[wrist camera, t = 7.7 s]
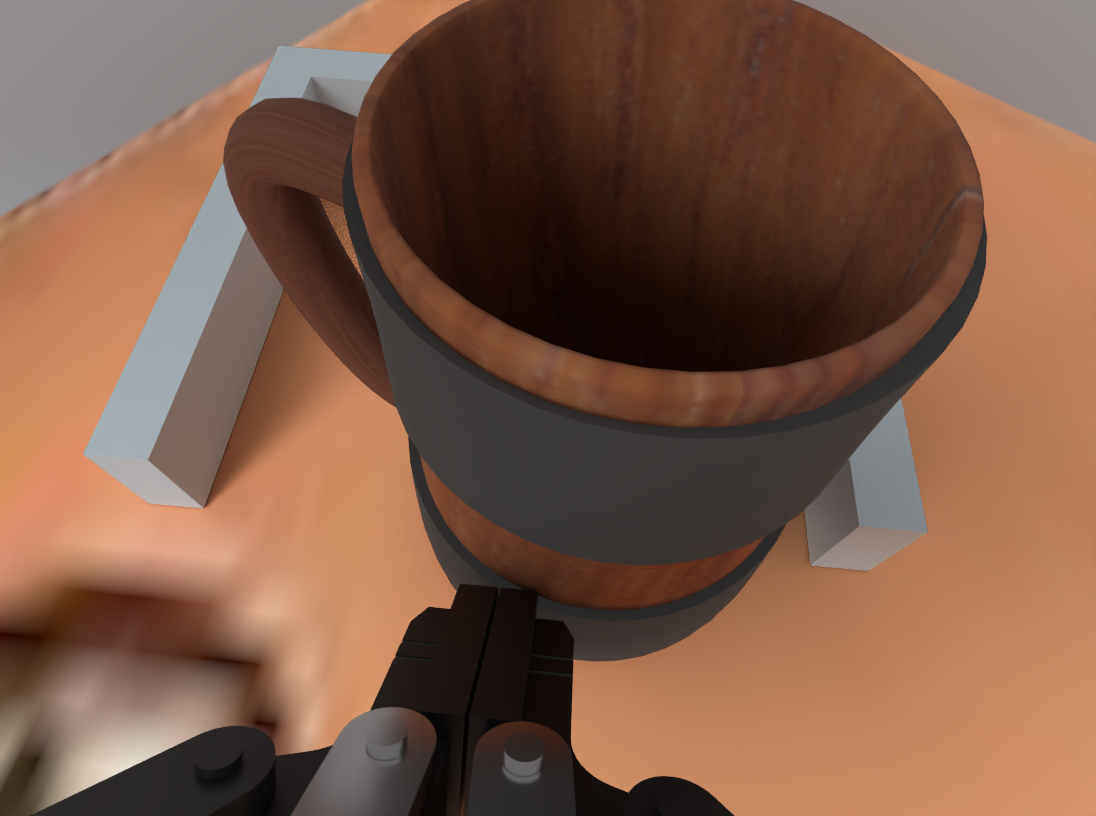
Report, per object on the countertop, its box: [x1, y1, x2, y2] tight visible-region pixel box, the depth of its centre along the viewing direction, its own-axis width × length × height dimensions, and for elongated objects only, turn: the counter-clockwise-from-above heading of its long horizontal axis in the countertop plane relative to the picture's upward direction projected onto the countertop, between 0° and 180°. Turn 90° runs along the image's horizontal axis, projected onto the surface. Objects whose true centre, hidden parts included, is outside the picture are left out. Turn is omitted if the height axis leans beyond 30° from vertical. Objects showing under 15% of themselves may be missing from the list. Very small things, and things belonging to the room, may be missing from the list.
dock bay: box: [83, 46, 928, 571], centre depth 20 cm, size 19×16×3 cm
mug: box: [223, 0, 987, 661], centre depth 13 cm, size 9×12×12 cm
